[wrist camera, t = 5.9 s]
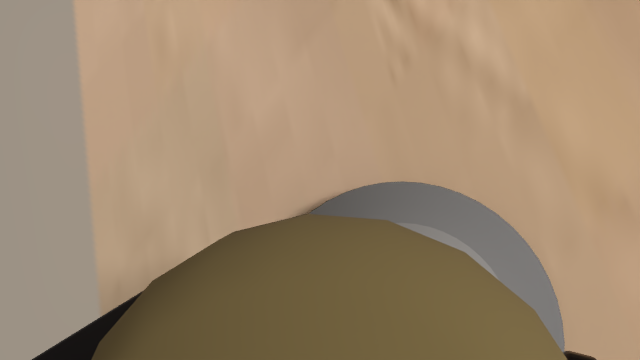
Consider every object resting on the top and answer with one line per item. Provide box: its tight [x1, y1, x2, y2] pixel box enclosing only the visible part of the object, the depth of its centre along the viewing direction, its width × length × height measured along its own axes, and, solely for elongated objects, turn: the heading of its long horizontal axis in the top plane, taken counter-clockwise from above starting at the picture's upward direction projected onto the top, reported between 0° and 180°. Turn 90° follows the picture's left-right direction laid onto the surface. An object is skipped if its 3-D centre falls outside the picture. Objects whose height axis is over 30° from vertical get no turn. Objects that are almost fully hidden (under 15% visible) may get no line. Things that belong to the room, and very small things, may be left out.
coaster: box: [309, 182, 564, 352], centre depth 19 cm, size 10×10×1 cm
